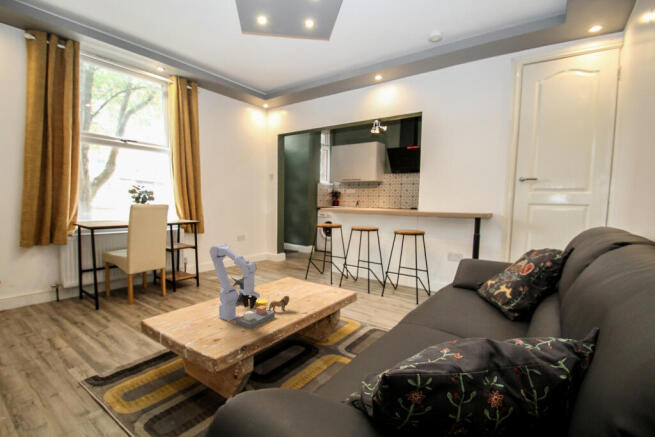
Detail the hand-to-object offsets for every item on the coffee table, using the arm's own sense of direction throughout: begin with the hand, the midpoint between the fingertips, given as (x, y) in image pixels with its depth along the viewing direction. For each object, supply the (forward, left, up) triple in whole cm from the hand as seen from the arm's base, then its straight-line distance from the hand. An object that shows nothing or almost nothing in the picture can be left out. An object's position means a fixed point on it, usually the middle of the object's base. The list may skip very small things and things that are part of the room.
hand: (249, 307), depth 172 cm
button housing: (0, +5, -9) cm, 11 cm away
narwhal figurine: (-28, +22, -10) cm, 37 cm away
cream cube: (0, 0, -7) cm, 7 cm away
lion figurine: (+2, +25, -10) cm, 26 cm away
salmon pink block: (0, +10, -7) cm, 12 cm away
